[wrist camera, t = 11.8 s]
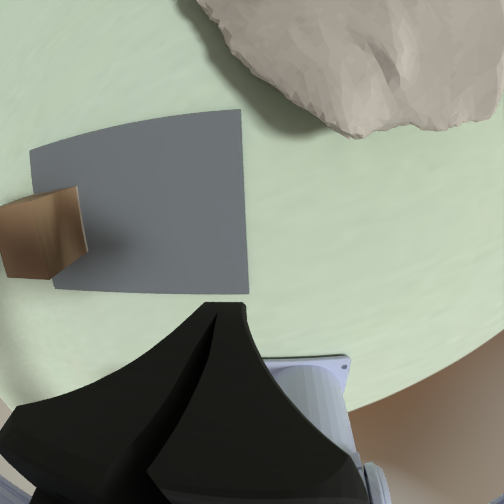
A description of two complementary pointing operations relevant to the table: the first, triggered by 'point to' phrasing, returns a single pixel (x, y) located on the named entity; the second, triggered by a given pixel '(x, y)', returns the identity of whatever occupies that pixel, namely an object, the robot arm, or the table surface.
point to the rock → (373, 58)
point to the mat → (155, 204)
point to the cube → (42, 234)
